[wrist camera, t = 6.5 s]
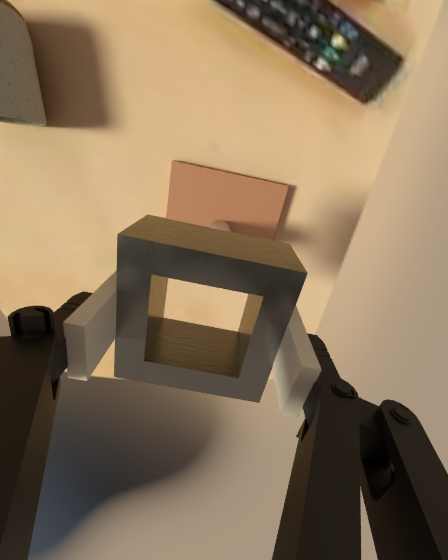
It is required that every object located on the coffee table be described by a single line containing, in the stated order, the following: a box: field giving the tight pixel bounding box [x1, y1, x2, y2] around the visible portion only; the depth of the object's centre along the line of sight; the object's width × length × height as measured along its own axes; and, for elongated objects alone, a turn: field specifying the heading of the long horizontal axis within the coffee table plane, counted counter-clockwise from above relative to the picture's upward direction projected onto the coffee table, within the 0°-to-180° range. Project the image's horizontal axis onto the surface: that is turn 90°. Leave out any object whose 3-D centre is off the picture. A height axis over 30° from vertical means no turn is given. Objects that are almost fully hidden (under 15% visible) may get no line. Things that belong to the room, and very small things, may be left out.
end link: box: [114, 215, 307, 403], centre depth 14 cm, size 8×8×4 cm
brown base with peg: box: [166, 161, 289, 241], centre depth 25 cm, size 12×12×9 cm
